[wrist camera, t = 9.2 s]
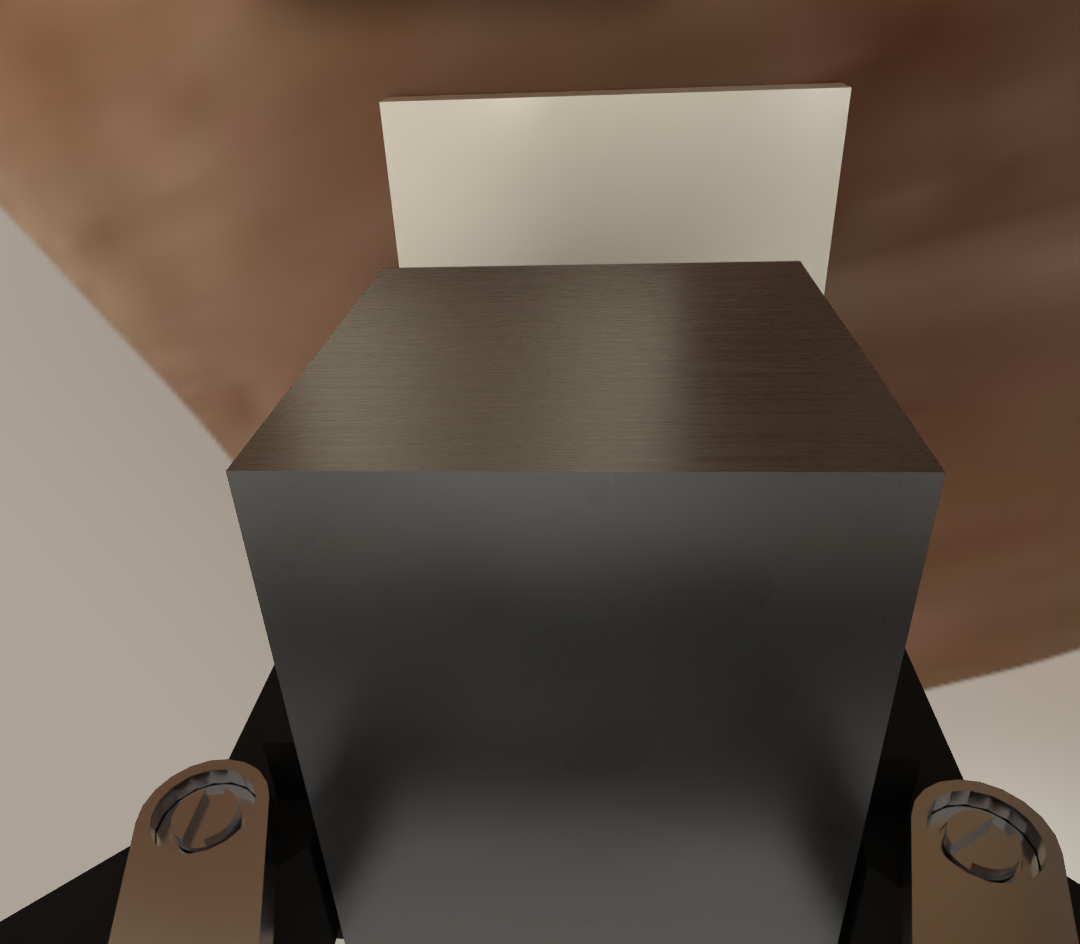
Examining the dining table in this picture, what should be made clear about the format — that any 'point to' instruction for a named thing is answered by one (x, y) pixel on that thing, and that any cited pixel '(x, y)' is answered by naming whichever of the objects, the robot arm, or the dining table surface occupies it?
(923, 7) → the dining table surface
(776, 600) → the grey metal block
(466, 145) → the tile
